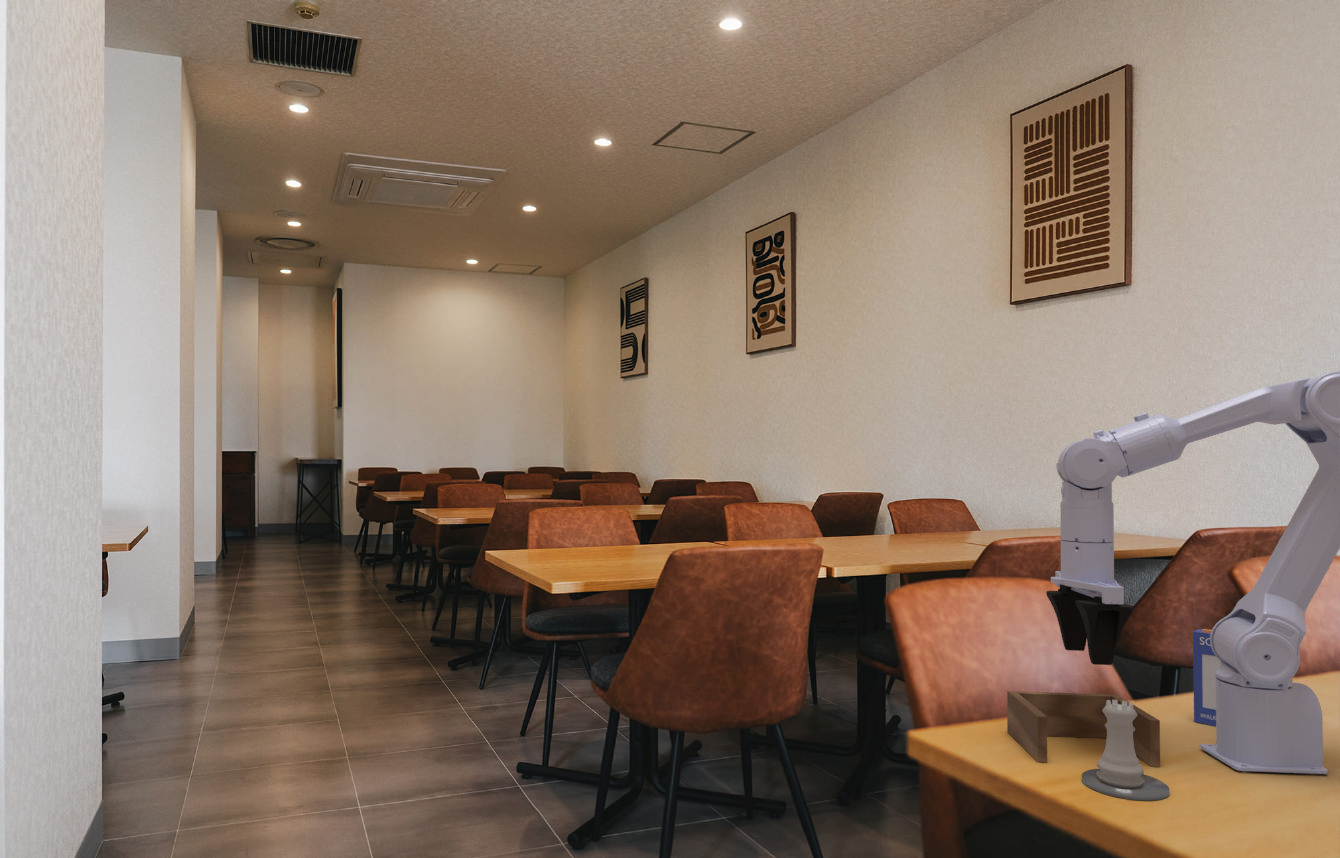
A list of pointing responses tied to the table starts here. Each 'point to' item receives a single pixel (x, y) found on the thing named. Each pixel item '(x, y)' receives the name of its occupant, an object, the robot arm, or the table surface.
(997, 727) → the table surface
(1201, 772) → the table surface
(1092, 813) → the table surface
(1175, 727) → the table surface
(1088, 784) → the coaster
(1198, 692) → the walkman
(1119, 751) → the rook chess piece
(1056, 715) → the u-shaped barrier
